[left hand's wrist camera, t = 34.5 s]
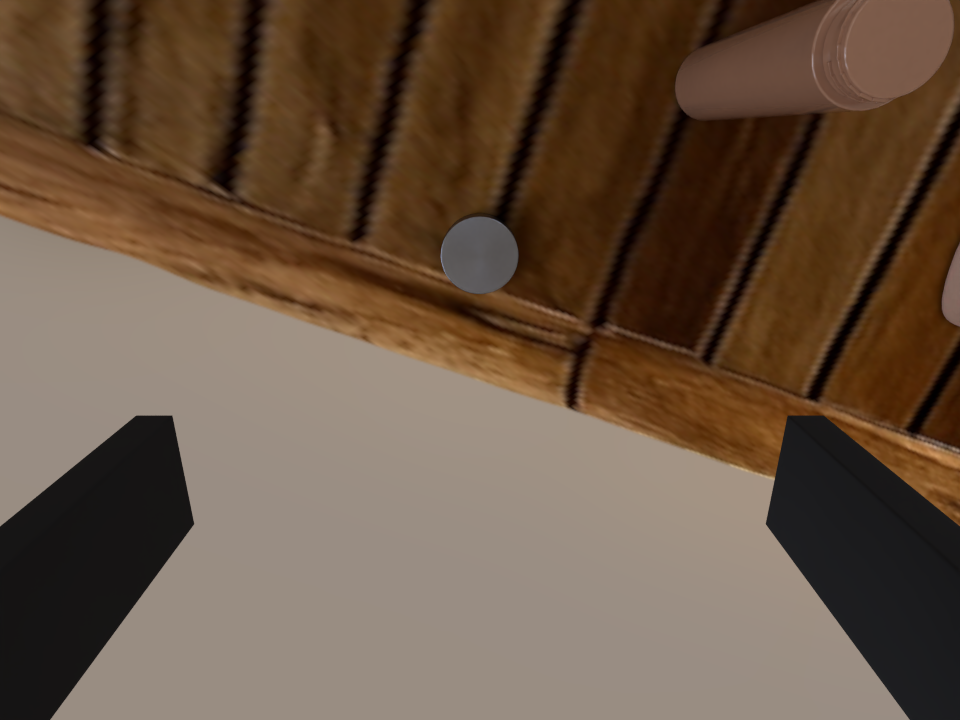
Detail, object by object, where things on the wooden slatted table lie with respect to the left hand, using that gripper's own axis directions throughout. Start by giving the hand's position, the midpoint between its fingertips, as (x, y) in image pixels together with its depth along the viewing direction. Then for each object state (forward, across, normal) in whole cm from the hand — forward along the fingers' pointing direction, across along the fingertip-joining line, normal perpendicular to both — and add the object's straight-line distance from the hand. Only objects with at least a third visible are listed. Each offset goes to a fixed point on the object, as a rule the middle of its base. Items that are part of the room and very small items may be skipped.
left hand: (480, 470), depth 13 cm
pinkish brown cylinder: (+28, +14, +10) cm, 33 cm away
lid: (+27, 0, 0) cm, 27 cm away
